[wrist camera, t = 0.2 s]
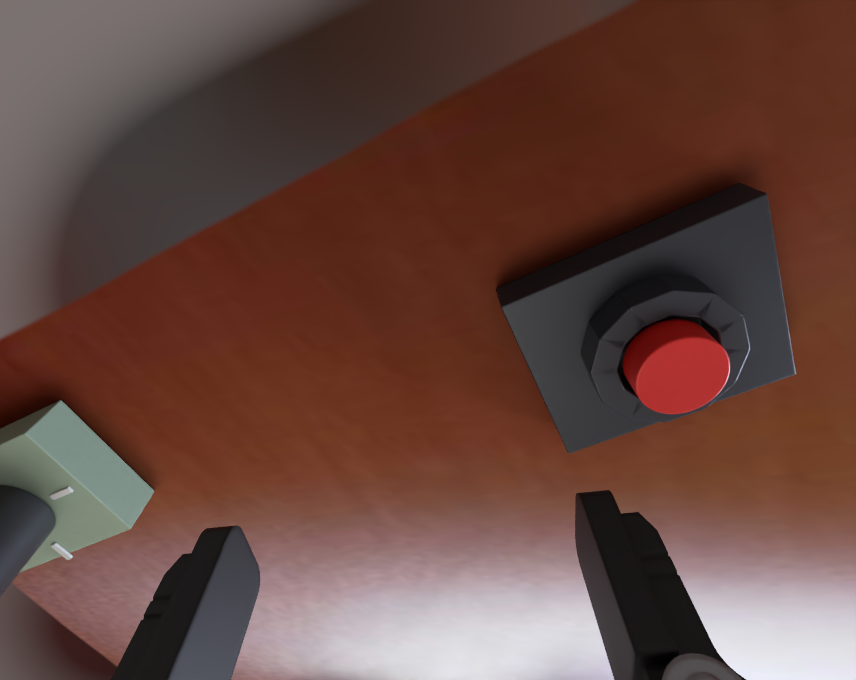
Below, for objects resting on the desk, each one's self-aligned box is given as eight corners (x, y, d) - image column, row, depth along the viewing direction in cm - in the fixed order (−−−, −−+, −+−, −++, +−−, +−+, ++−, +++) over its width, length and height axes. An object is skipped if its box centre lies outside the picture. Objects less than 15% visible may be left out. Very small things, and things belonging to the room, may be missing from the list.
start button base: (739, 182, 23) (795, 203, 20) (770, 352, 27) (821, 395, 24) (495, 288, 26) (506, 324, 22) (559, 429, 30) (576, 477, 26)
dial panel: (57, 395, 29) (17, 430, 26) (158, 494, 33) (133, 534, 30) (-65, 454, 31) (-114, 493, 28) (43, 540, 35) (10, 582, 32)
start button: (701, 304, 22) (721, 322, 21) (718, 373, 24) (738, 395, 22) (611, 339, 23) (624, 359, 21) (634, 404, 25) (648, 426, 23)
